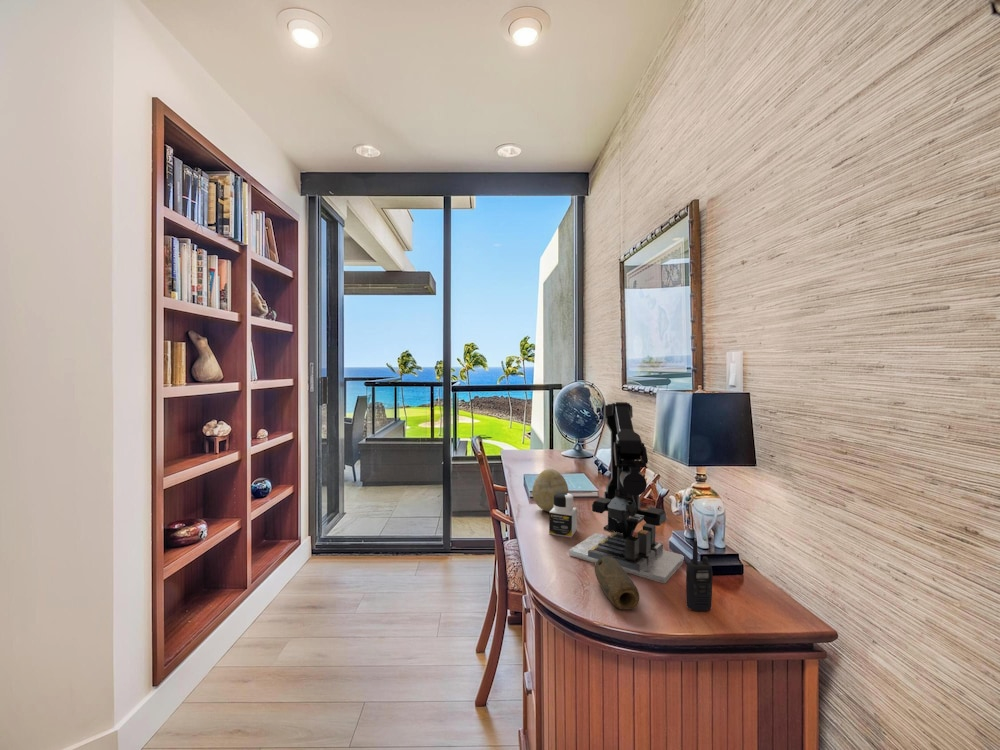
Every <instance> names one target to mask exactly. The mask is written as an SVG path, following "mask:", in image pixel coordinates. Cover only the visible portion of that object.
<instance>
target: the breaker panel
mask: <svg viewBox="0 0 1000 750" xmlns="http://www.w3.org/2000/svg"><path fill="white" fill-rule="evenodd" d="M656 529H657V526H655V525H651V524H647V523H646V522H645V524H643V525H642V530H646V531H650V532H651V550H650V551H649V552H648V553H647V554H644V553H640V552H639V538H638V537H637V536H634V535H632V536H628V537H627V538H626V539H624V536H623V534H622V533H618V532H614V531H613V533H611V534H610V535H605V534H602V533H599V532H598V533H597V532H594V533H593V534H592V535H590V536H589V537H587V538H586V539H584V540H582V541H581V542H579V543H577V544H576V545H574V546H573V547H571V548H570V549H568V555H569V557H574V558H577V559H581V560H584V561H586V562H590V563H594V564H595V563H596V562H597V561H598V559H600V558H601V557H605V556H608V557H611V558H613V559H614V560H616V561H617V562H618V563H619V564H620V565H621V567H622V568H623V569H624V571H625V572H626V573H627V574H630V575H634V576H637V577H641V578H643V579H648V580H651V581H655V582H657V583H661V584H666V583H667V582H668V581H669V580H670V578H671V577H672V576H673V575H674V574H675V573H676V572H677V570H679V568H680V567H681V566H682V565H683V564H684V563H683V560H684V556H683V555H684V554H680V553H677V552H672V551H668V550H665V549H664V544H663V543H661V542H658V541H656ZM682 563H683V564H682Z"/></svg>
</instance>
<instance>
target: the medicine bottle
mask: <svg viewBox="0 0 1000 750" xmlns="http://www.w3.org/2000/svg"><path fill="white" fill-rule="evenodd" d="M548 512H549V511H548ZM548 515H549V516H548V518H549V520H548V526H549V527H548V534H549V535H553V536H560V537H566V538H572V537H573V536H574V534H575V533H576V531H577V530H578V527H577V526H578V508H577V507H574V495H573V494H571V493H569V492H568V493H565V492H560V493H556V494H555V495H554V507H553V508H552V510H551V511H550V512H549V514H548Z"/></svg>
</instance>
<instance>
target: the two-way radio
mask: <svg viewBox="0 0 1000 750" xmlns="http://www.w3.org/2000/svg"><path fill="white" fill-rule="evenodd" d="M698 548H699V547H698V540H696V539H693V541H692V558H691V559H690V562H688V563H687V565H686V572H685V573H686V574H685V579H686V580H685V581H686V582H685V584H686V585H685V586H686V588H685V595H686V599H685V600H686V607H687V608H688V609H689V610H690V611H694V612H703V611H704V612H705V611H707V612H709V611H711V609H712V603H713V601H712V600H713V599H712V598H713V575H714V574H713V567H712V565H711V564H710V563H709V559H708V557H707V556H705V555H704V556H702V560H701V561H700V560H698V559H699V557H698V554H699V553H698V552H699V550H698Z"/></svg>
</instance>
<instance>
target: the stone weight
mask: <svg viewBox="0 0 1000 750" xmlns="http://www.w3.org/2000/svg"><path fill="white" fill-rule="evenodd" d="M594 574H595V577H596V580H597V582H598V585H600V587H601V589H602V590H603V592H604V594H605V596H606V597H607V598H608V600H609V601H610V602H611V604H612V605H613V606H614V607H616V608H617V609H620V610H632V609H635V608H637V606H638V605H639V603H640V594H639V589H638V587H637V586H636V584H635V583H634V581H633V579H632V578H631V577H630V576H629V575H628V574H629V573H627V572H625V571H624V569H623V568H622V567H621V565H620V564H619V563H618V562H617V561H616V560H614V559H613V558H611V557H608V556H605V557H601V558H600V559H598V561H597V562H596V563H594Z"/></svg>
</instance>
